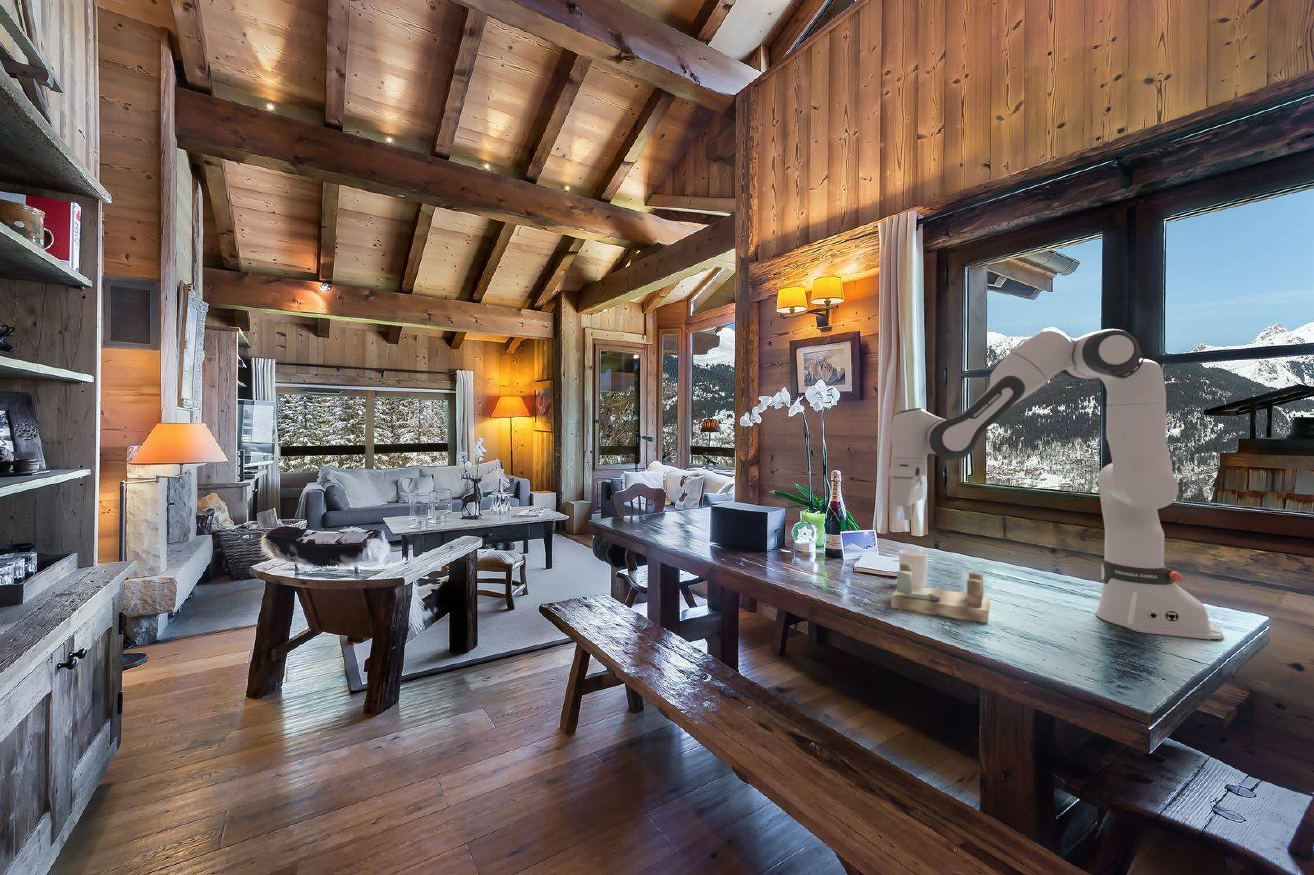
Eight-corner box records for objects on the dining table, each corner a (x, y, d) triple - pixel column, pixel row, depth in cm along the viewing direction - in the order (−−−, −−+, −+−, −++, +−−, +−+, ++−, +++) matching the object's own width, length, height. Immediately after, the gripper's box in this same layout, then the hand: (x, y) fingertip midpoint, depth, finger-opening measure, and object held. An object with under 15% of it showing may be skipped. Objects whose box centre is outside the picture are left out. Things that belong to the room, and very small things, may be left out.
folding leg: (940, 598, 144) (940, 575, 144) (939, 602, 141) (939, 578, 141) (898, 592, 149) (898, 570, 149) (896, 596, 146) (896, 573, 146)
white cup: (921, 582, 170) (921, 549, 170) (931, 589, 163) (932, 555, 162) (895, 581, 171) (895, 549, 171) (903, 589, 163) (904, 555, 163)
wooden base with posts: (989, 607, 146) (989, 572, 146) (987, 623, 135) (988, 585, 135) (899, 594, 158) (899, 562, 158) (891, 607, 147) (891, 572, 146)
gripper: (905, 465, 160) (905, 513, 161) (887, 470, 144) (887, 523, 144) (929, 466, 157) (929, 515, 157) (913, 471, 140) (913, 526, 140)
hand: (909, 519), depth 150 cm, fingers closed
